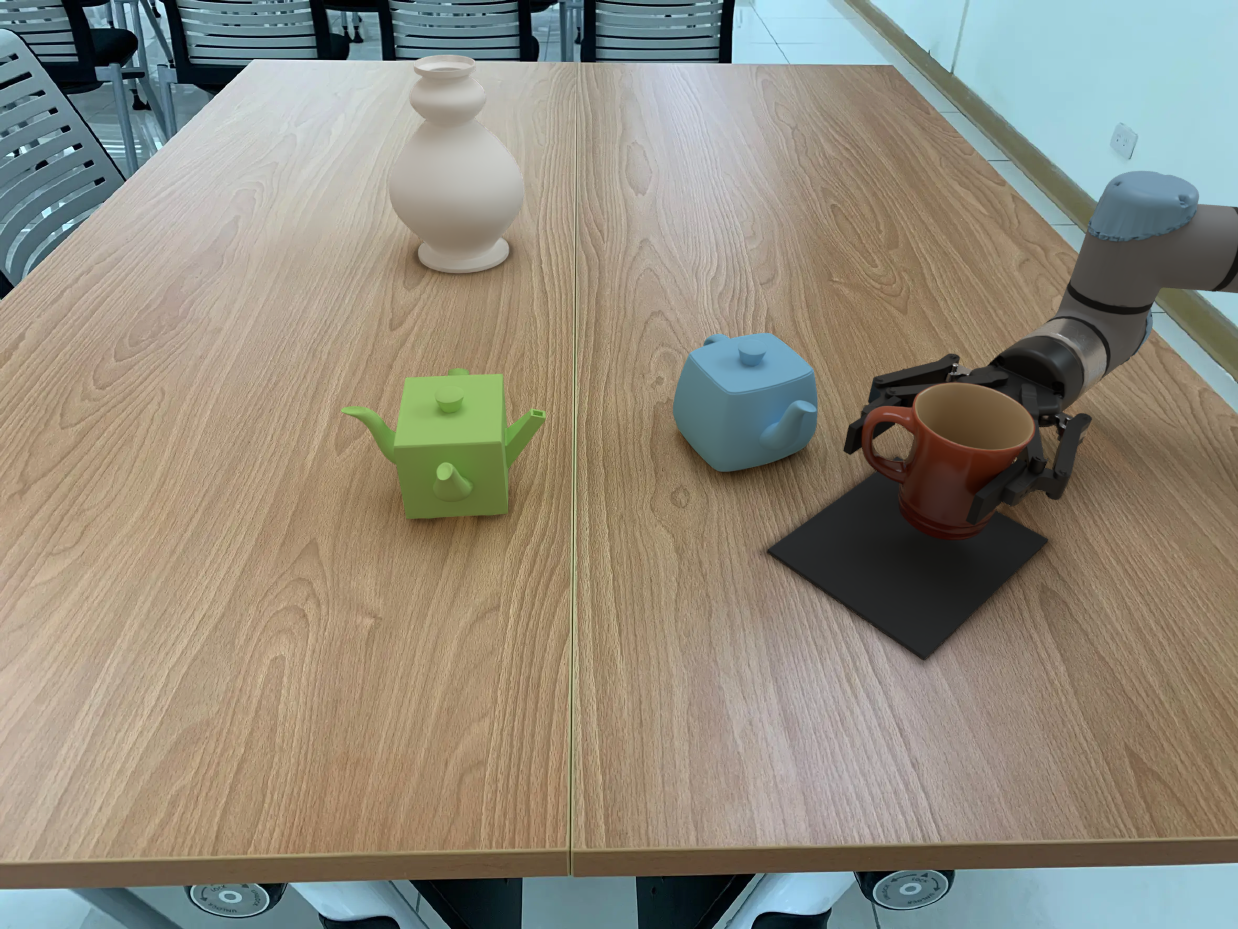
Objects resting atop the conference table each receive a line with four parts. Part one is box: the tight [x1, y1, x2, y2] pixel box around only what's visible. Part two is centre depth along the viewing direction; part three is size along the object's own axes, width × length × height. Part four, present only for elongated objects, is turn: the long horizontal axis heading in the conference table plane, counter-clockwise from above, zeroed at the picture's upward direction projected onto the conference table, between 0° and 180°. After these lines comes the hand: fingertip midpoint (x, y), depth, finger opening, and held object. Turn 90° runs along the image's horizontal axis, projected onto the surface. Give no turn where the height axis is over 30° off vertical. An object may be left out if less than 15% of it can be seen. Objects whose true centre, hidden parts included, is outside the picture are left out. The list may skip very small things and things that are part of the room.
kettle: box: [340, 367, 547, 520], centre depth 81 cm, size 15×14×11 cm
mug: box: [861, 383, 1035, 541], centre depth 73 cm, size 13×9×11 cm
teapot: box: [672, 332, 819, 473], centre depth 86 cm, size 12×18×12 cm
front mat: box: [766, 456, 1049, 661], centre depth 79 cm, size 16×20×1 cm
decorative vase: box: [388, 54, 526, 274], centre depth 116 cm, size 18×18×25 cm
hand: (909, 473), depth 70 cm, fingers closed on mug, 11 cm apart
